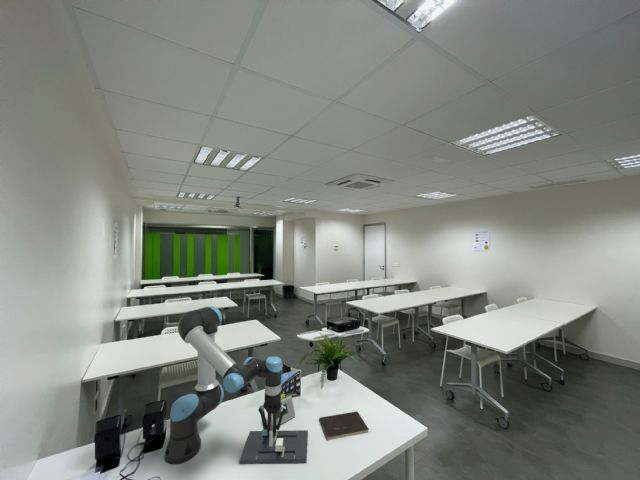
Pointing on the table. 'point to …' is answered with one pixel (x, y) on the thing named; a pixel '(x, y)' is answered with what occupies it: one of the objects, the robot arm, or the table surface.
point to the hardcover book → (343, 425)
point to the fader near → (279, 444)
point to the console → (265, 454)
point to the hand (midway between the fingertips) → (271, 444)
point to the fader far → (264, 432)
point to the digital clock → (288, 413)
